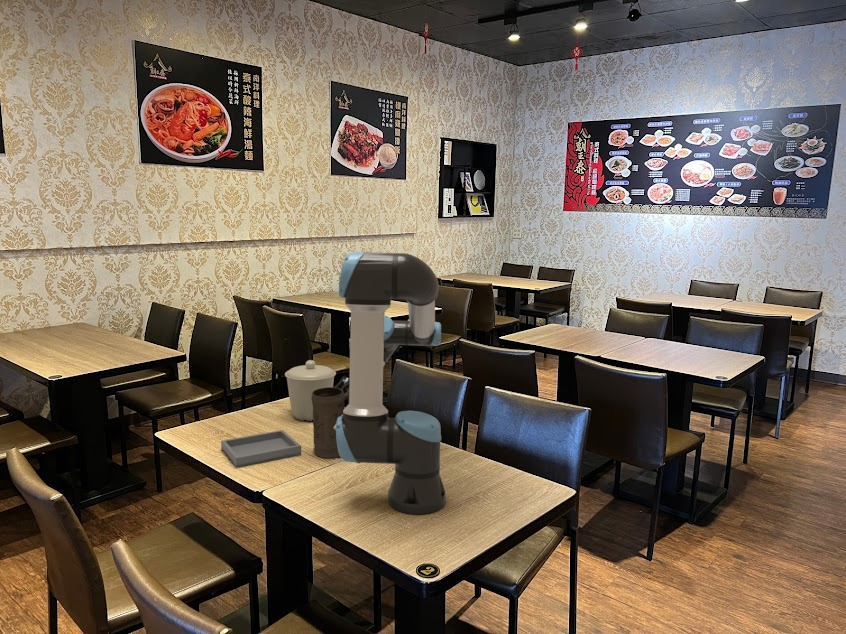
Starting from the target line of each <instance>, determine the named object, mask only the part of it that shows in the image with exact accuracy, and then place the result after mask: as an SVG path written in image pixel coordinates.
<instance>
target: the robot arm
mask: <svg viewBox="0 0 846 634" xmlns="http://www.w3.org/2000/svg"><path fill="white" fill-rule="evenodd" d="M436 275H437V274H435V272H434V271H433V269H432V268H431V267H430V266H429V264H427V263H426V262H425V261H424V260H422V259H421V258H419V257H417V256H415V255H412V254H409V253H403V252H401V253H400V252H398V253H396V252H395V253H394V252H374V251H373V252H371V251H370V252H369V251H361V252H360V251H359V252H357V251H356V252H350V253H348V254H346V255H345V257H344V259H343V261H342V265H341V268H340V275H339V279H338V280H339V281H338V295H339V297H340V298H342V299H344V306H346V308H347V309H348V310H349V311H350V339H349V342H350V346H349V348H350V350H349V355H350V356H349V377H346V376H345V375H343V376H342V377H341V379H340V380H339V382H337V383H336V385H334V386H333V387H334V388H340V389H342V390H343V392H344V394H345V393H346V392H347V391H348V390H349V401H348V404H347V405H346V406H345V409H344V410H343V415H342V416H340V417H338V419H337V422H336V425H335V426H334V427H333V428H334V429H335V430H336V440H337V447H338V452H339V455H340V456H339V457H340V458H341V460H343V461H344V462H346V463H347V462H349V463H356V464H364V463H365V464H387V465H388V464H389V465H390V464H391V465H393V464H394V465H395V467H394V474H393V478H392V479H391V483H390V486H389V489H388V492H387V502H388V505H389V506H390V507H391V508H392V509H393V510H396V511H398V512H401V513H405V514H410V515H425V514H431V513H434V512H435V513H436V512H437V511H439V510H441V509H443V507H444V506H445V505H446V498H447V497H446V491H445V486H444V484H443V481H442V478H441V472H440V471H441V466H440V465H441V441H442V435H441V432H442V431H441V423H440V422H439V420H438V418H436V417H434V416H432V415H431V414H429V413H427V412H426V413H425V412H423V411H418V410H402V411H399V412H397V414H396V415H395V417H389V410H388V409H387V408H386V407H385V405H384V404H383V398H384V397H383V391H384V390H383V388H384V385H383V384H384V367H385V365H386V363H387V362H388V361H389V359H390V358H391V356H392V355H393V353H394V352H395V351H396V349H398V347H399V346H421V347H422V346H426V347H433V346H436V347H437V346H440V344H441V341H442V323H440V322H438V321H436V303H435V302H436V301H435V300H436V299H437V297H438V296H439V290H440V289H439V284H440V283H439V281H438V278H437V276H436ZM394 299H395V300H399V299H401V300H406V301H407V308H408V309H407V310H408V319H409V320H392V319H391V317H390V316H388V315H385V313H386V311H387V310H388V309H389V308H390V307H391V304H392V303H391V301H392V300H394Z"/></svg>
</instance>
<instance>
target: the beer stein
mask: <svg viewBox="0 0 846 634" xmlns="http://www.w3.org/2000/svg"><path fill="white" fill-rule="evenodd" d="M334 387H335V386H333V387H327V388H320V389H317V390H314V391H313V392H312V398H311V399H312V405H313V421H312V424H313V425H312V427H313V430H312V431H313V432H312V433H313V445H314V447H313V453H314V455H315V456H316V457H319V458H324V459H333V458H338V457H340V455H339V452H338V447H337V440H336V430H335V429H334V428H333V427H334V426H335V425H336V422H337V419H338V417H340V416H342V415H343V410H344V409H345V408H346V406H345V401H346V400H348V402H349V390H348V391H347V392H346V393H345V394H344V392H343V390H342V389H340V388H334Z"/></svg>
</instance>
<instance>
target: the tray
mask: <svg viewBox="0 0 846 634" xmlns="http://www.w3.org/2000/svg"><path fill="white" fill-rule="evenodd" d="M220 443H221V444H220V447H221V448H220V449H221V451H222V453H223V454H224V453H225V454H224V455H225V456H226V458H228V460H229V461H230V462H231V464H233V466H234V468H236V469H238V468H237V467H239V468H243V466H244V467H248V465H249V466H252V465H258V464H262V463H268V462H273V460H274V461H278V459H279V460H282V459H283V458H284V459H287V458H292V457H299V456H302V445H301V444H300V443H299V442H298V441H296V440H295V439H294V438H293V437H292V436H291V435H290V434H288V433H287V432H286V431H285V430H284V429H279V430H274V431H267V432H264V433H257V434H252V435H246V436H241V437H235V438H229V439H223V440H220Z"/></svg>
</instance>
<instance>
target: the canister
mask: <svg viewBox="0 0 846 634" xmlns="http://www.w3.org/2000/svg"><path fill="white" fill-rule="evenodd" d="M336 375H337V372H336V371H335V370H334V369H332V368H331V367H330V366H326V365H320V364H316V361H314V360H312V359H309V360H307V361H306V362H305V365H304V364H303V365H298V366H294V367H292V368H290V369H289V370H287V371H286V372H285V373H284V376H285V378H286V382H287V389H288V396H289V397H288V399H289V403H290V411H291V413H292V415H293V417H294V418H295V419H296V420H300V421H304V420H306V421H305V422H313V421H312V420H313V405H312V399H311V398H312V392H313V391H314V390H317V389H320V388H327V387H334V382H335V381H334V379H335V377H336Z"/></svg>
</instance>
